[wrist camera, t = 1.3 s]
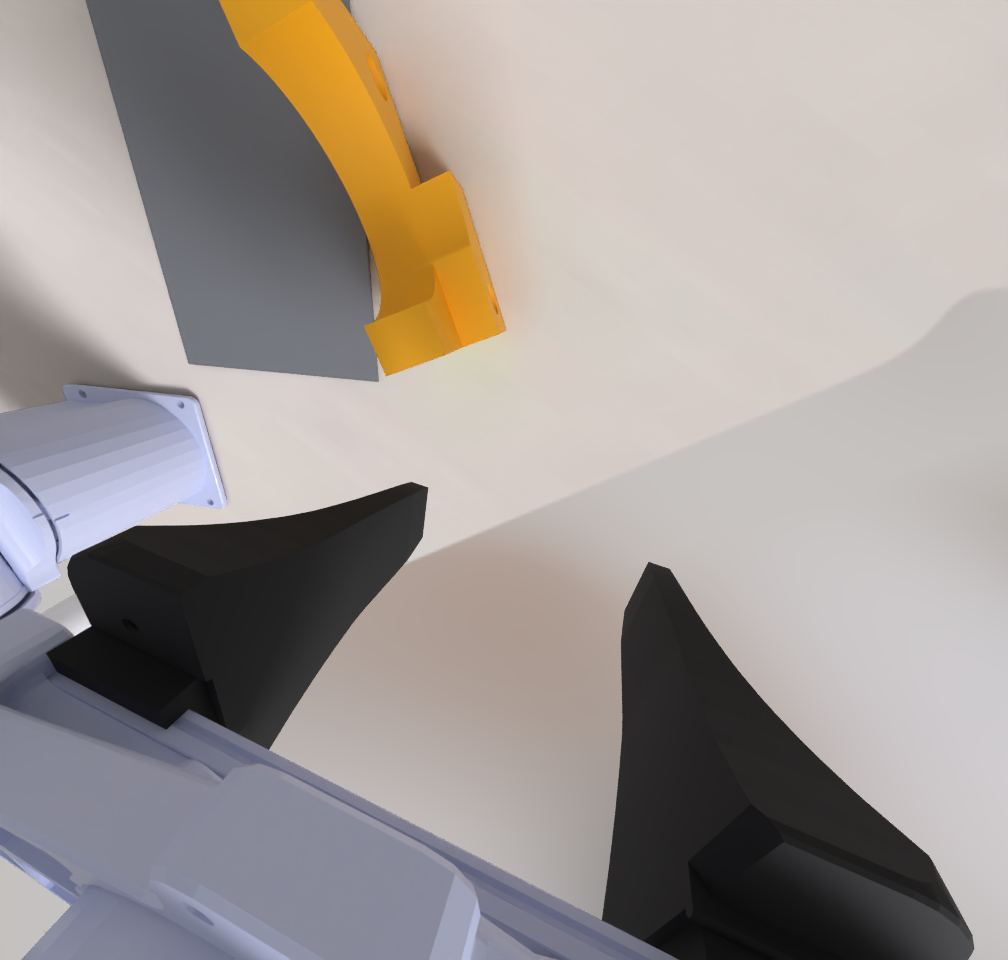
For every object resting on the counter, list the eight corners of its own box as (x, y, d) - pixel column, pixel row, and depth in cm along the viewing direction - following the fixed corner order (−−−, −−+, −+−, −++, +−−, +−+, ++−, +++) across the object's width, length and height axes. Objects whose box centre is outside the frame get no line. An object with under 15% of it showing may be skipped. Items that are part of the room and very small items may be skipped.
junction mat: (191, 363, 23) (188, 363, 23) (84, -20, 16) (79, -24, 16) (378, 381, 22) (377, 381, 22) (347, -25, 15) (344, -29, 15)
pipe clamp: (506, 330, 20) (488, 339, 14) (432, 357, 21) (386, 376, 15) (413, 30, 15) (329, -140, 9) (325, 82, 16) (199, -43, 10)
